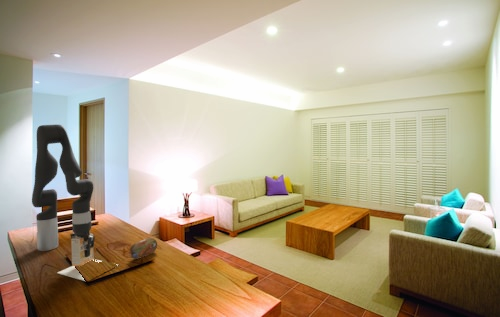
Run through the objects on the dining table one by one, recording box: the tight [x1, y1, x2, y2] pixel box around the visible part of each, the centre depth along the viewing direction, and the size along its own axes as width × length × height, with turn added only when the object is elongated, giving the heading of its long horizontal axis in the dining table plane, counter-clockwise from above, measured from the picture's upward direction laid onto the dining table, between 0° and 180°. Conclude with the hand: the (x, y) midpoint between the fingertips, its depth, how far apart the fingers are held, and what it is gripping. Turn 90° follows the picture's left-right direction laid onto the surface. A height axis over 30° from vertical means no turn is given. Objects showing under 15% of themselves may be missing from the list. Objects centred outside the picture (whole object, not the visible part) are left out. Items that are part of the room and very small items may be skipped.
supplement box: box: [70, 233, 95, 267], centre depth 124 cm, size 8×5×13 cm, turn 168°
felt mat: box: [56, 258, 119, 282], centre depth 122 cm, size 20×16×1 cm
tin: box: [129, 237, 158, 260], centre depth 136 cm, size 15×3×8 cm, turn 147°
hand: (83, 255), depth 124 cm, fingers closed on supplement box, 5 cm apart
